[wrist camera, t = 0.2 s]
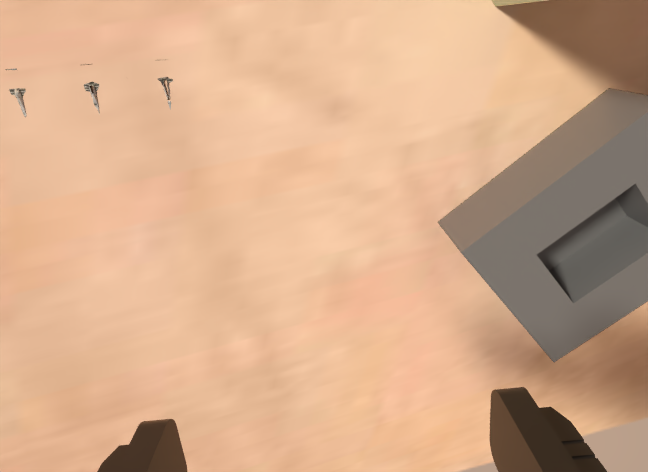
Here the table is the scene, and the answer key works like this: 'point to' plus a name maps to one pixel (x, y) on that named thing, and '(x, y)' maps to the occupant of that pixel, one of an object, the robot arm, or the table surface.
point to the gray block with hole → (567, 225)
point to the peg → (512, 2)
